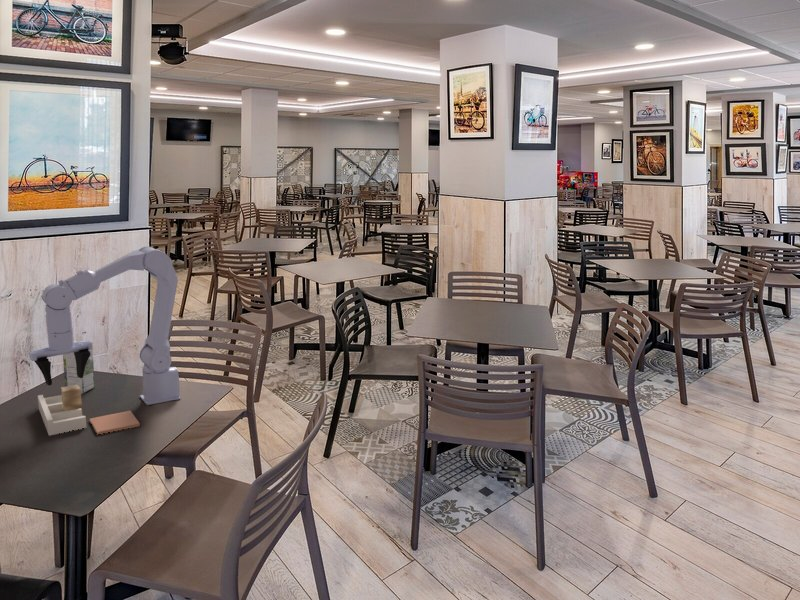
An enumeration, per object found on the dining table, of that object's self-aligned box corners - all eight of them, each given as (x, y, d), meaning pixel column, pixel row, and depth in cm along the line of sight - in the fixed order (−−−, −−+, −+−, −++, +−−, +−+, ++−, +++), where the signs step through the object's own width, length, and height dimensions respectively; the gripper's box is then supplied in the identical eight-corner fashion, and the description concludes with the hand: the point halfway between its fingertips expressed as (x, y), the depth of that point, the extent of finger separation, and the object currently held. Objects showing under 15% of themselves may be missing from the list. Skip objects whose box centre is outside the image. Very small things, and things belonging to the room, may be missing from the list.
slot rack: (73, 403, 165) (72, 389, 164) (86, 427, 150) (85, 413, 149) (38, 409, 160) (37, 395, 159) (48, 435, 145) (47, 420, 144)
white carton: (78, 386, 178) (74, 340, 175) (96, 387, 177) (92, 341, 174) (65, 392, 172) (61, 345, 170) (83, 394, 172) (79, 347, 169)
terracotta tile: (130, 413, 159) (130, 410, 159) (139, 426, 152) (139, 423, 152) (89, 421, 154) (89, 418, 153) (97, 435, 146) (97, 432, 146)
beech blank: (80, 412, 159) (77, 384, 157) (82, 417, 156) (80, 389, 154) (63, 415, 157) (60, 387, 155) (65, 420, 154) (63, 391, 152)
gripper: (83, 323, 159) (87, 370, 162) (22, 333, 148) (28, 383, 151) (94, 328, 154) (98, 376, 157) (33, 338, 144) (38, 390, 146)
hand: (64, 380), depth 154 cm, fingers open, 7 cm apart
